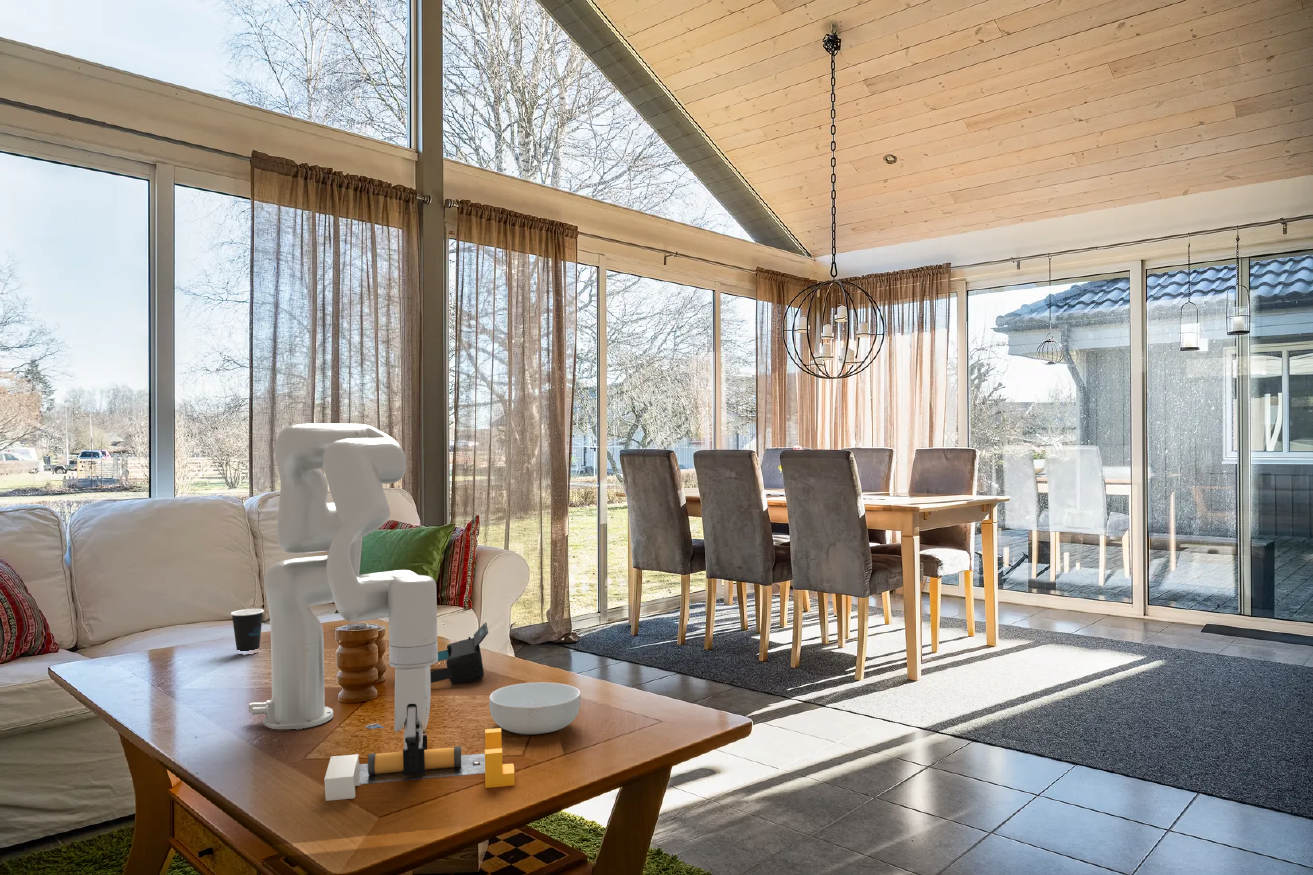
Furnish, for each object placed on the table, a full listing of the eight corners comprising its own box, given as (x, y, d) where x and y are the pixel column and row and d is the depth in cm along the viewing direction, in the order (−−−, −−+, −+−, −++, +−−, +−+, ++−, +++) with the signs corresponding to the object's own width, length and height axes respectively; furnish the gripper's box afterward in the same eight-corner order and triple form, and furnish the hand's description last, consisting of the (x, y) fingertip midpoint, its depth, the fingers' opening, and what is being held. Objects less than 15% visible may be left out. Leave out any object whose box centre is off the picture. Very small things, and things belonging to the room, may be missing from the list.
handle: (368, 778, 138) (367, 761, 137) (370, 766, 141) (369, 749, 140) (460, 770, 141) (460, 753, 140) (461, 759, 144) (460, 742, 143)
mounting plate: (339, 794, 134) (339, 784, 134) (348, 772, 143) (348, 764, 143) (485, 780, 138) (485, 771, 138) (486, 760, 147) (485, 752, 147)
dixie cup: (260, 655, 228) (260, 613, 229) (227, 657, 227) (227, 615, 227) (267, 648, 236) (266, 607, 236) (235, 651, 235) (235, 609, 235)
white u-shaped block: (326, 808, 129) (324, 779, 128) (332, 784, 135) (331, 756, 134) (354, 805, 130) (353, 776, 129) (360, 782, 135) (358, 754, 134)
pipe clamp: (514, 794, 133) (513, 751, 133) (485, 797, 132) (484, 754, 132) (512, 766, 145) (511, 727, 145) (486, 769, 144) (485, 729, 144)
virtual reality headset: (496, 679, 197) (488, 635, 196) (396, 703, 192) (388, 658, 192) (493, 658, 215) (485, 618, 214) (401, 680, 210) (394, 639, 210)
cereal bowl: (555, 751, 151) (554, 710, 151) (472, 742, 157) (471, 702, 157) (596, 721, 167) (595, 684, 167) (519, 714, 173) (518, 678, 173)
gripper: (395, 643, 149) (397, 751, 149) (382, 668, 132) (385, 789, 132) (440, 641, 150) (442, 747, 150) (434, 665, 133) (436, 785, 133)
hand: (415, 766), depth 141 cm, fingers open, 5 cm apart
